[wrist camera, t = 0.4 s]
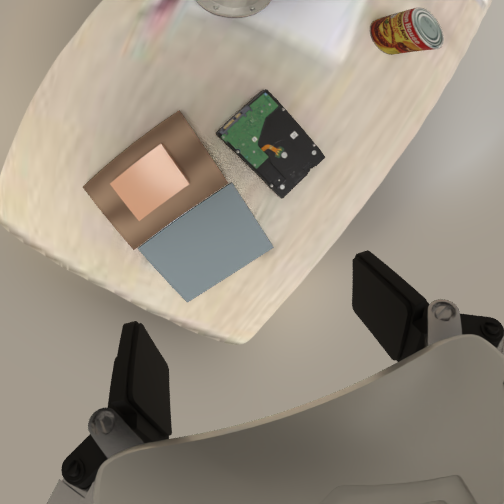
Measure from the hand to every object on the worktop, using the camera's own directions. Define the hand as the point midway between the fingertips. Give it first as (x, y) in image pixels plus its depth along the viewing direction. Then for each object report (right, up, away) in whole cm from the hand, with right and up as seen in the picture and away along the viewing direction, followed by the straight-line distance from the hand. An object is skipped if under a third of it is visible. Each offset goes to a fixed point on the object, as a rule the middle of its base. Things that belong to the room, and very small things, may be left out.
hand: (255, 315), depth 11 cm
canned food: (+25, +43, +24) cm, 55 cm away
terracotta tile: (-15, +13, +26) cm, 32 cm away
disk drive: (+3, +20, +31) cm, 37 cm away
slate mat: (-8, +3, +36) cm, 37 cm away
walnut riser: (-15, +14, +28) cm, 35 cm away
